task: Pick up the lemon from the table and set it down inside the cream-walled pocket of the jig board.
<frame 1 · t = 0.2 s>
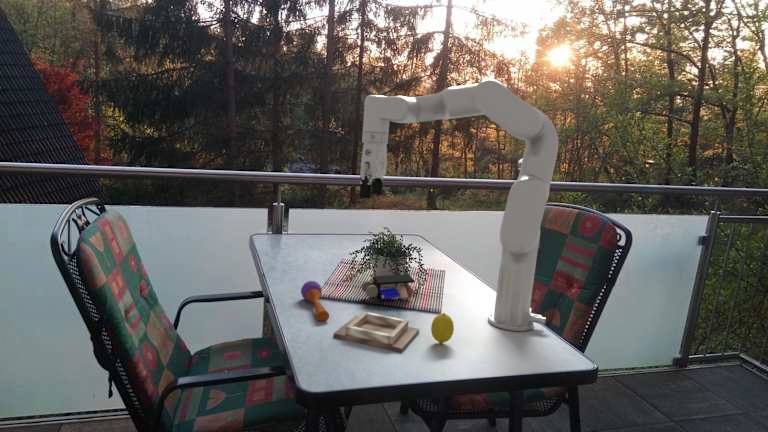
hand: (371, 196, 164), 31 cm above the table, tool pointing down, fingers open, 9 cm apart
jig board: (377, 334, 140), on the table
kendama: (315, 309, 156), on the table
lemon: (440, 344, 138), on the table
figurine character: (387, 300, 168), on the table
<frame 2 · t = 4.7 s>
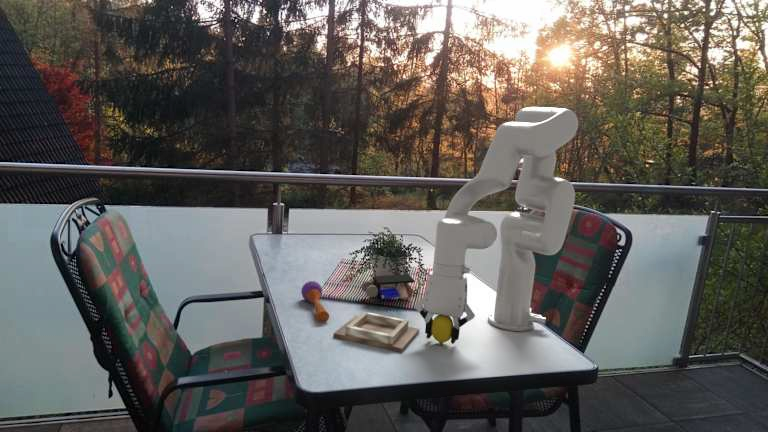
hand: (441, 338, 138), 1 cm above the table, tool pointing down, fingers closed on lemon, 5 cm apart
lemon: (440, 344, 138), on the table, touching gripper
everything else where it was.
when the fingers open (4 cm above the table, at t = 11.8 s): lemon drops 2 cm, resting on jig board.
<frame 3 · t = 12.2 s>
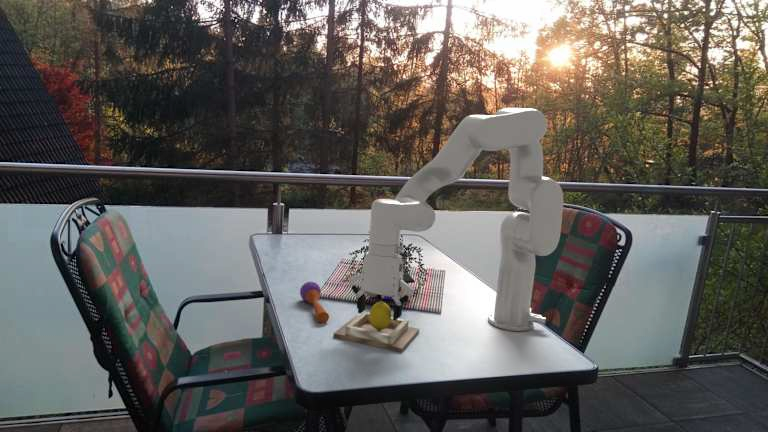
hand: (378, 315, 139), 5 cm above the table, tool pointing down, fingers open, 9 cm apart
lemon: (379, 331, 140), point 1 cm above the table, touching jig board
everything else where it was.
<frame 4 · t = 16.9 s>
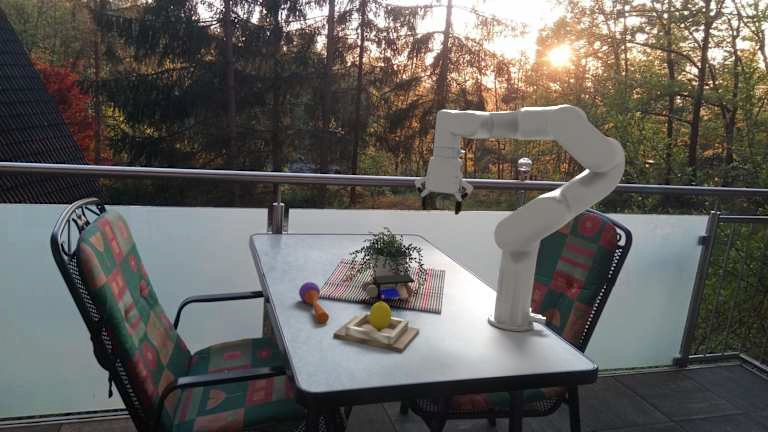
hand: (440, 211, 162), 28 cm above the table, tool pointing down, fingers open, 9 cm apart
at the end: lemon 0.4 cm off-centre on the jig board, point 0.8 cm above the jig board's base; the gripper is holding nothing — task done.
